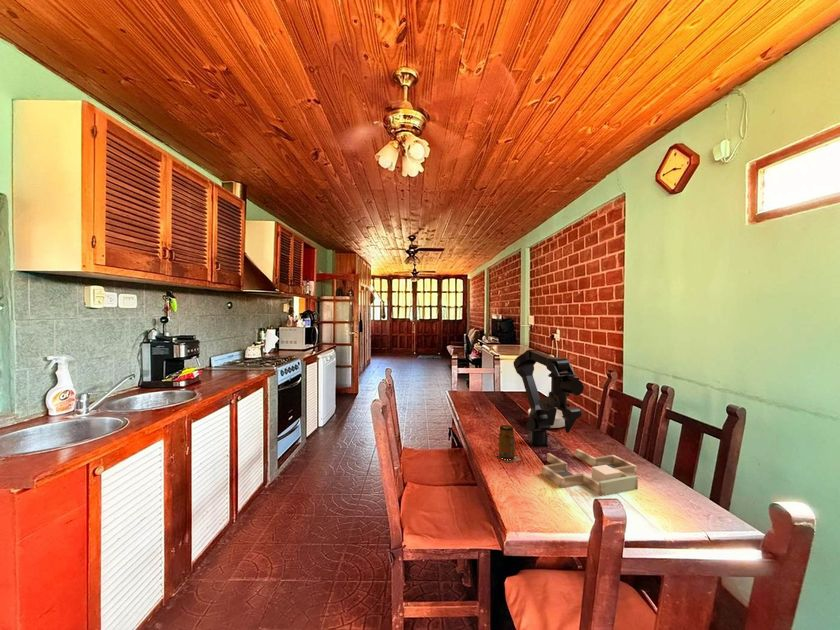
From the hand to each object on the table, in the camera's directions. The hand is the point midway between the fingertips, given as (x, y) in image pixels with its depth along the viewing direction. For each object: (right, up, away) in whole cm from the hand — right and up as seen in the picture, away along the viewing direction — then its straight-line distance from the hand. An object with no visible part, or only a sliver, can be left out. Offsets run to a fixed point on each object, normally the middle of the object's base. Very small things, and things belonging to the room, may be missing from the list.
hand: (559, 429), depth 142 cm
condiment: (-21, -12, 0) cm, 24 cm away
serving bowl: (+10, -11, +39) cm, 42 cm away
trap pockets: (+5, -11, -15) cm, 19 cm away
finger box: (+5, -11, -15) cm, 19 cm away
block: (+7, -11, -22) cm, 26 cm away
